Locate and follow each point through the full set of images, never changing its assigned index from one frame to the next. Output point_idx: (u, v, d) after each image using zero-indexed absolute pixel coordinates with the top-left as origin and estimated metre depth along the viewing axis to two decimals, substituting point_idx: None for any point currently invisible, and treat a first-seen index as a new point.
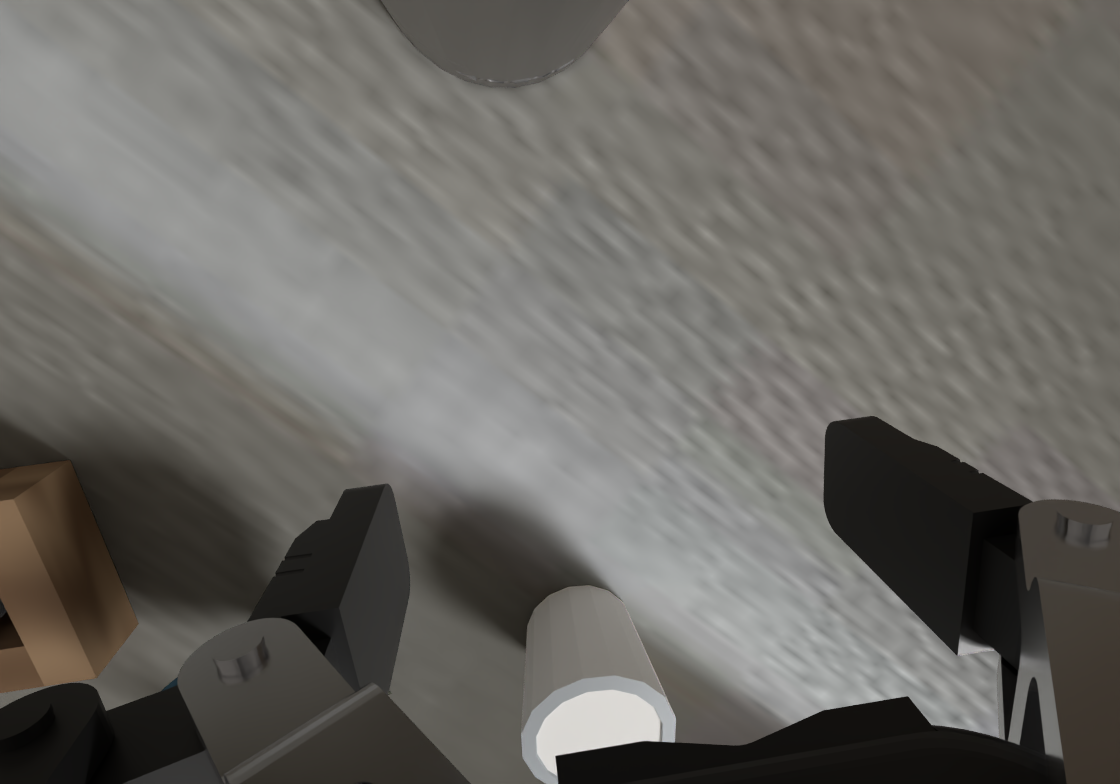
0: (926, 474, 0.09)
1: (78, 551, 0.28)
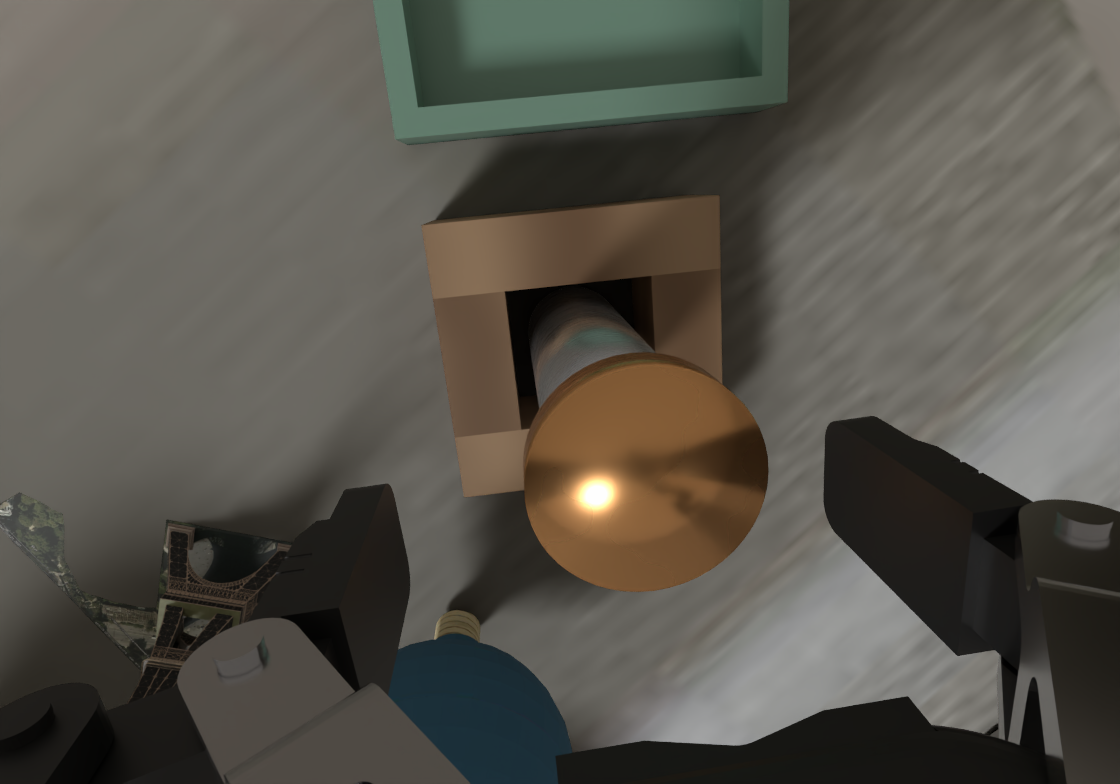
0: (926, 474, 0.09)
1: None
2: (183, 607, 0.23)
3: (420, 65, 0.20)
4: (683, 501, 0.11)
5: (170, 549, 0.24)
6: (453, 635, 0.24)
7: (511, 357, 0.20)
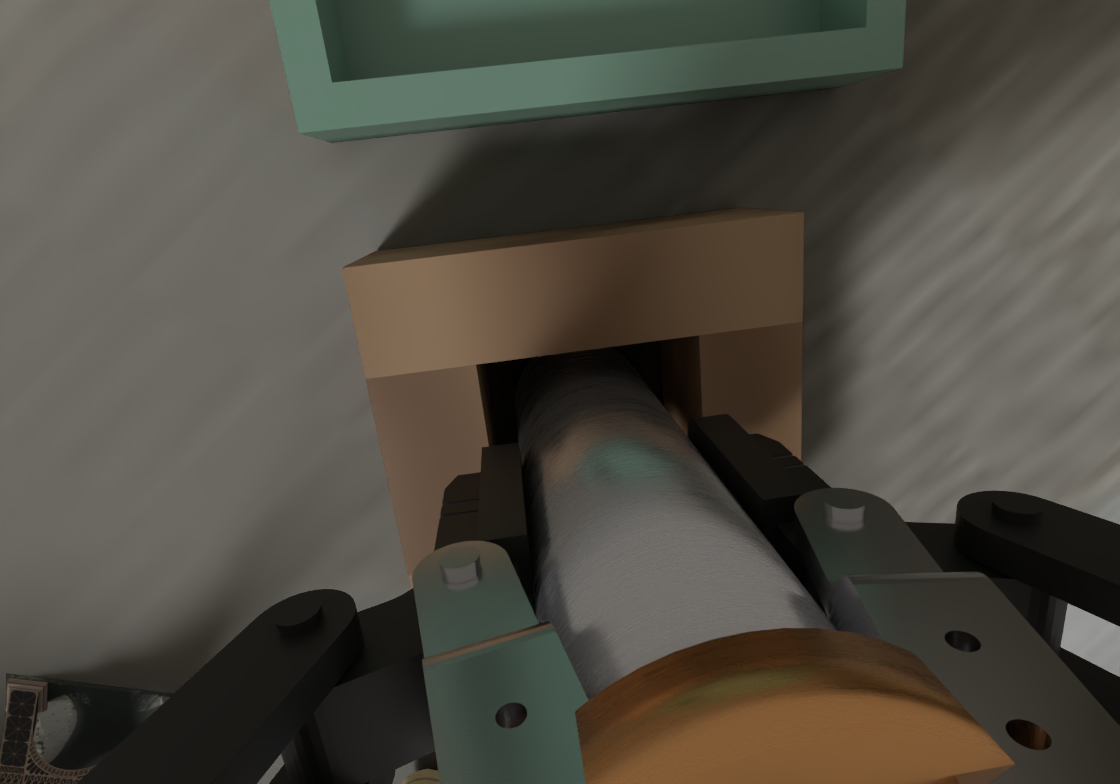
0: (743, 466, 0.10)
1: None
2: None
3: (342, 21, 0.13)
4: None
5: (6, 720, 0.17)
6: None
7: None
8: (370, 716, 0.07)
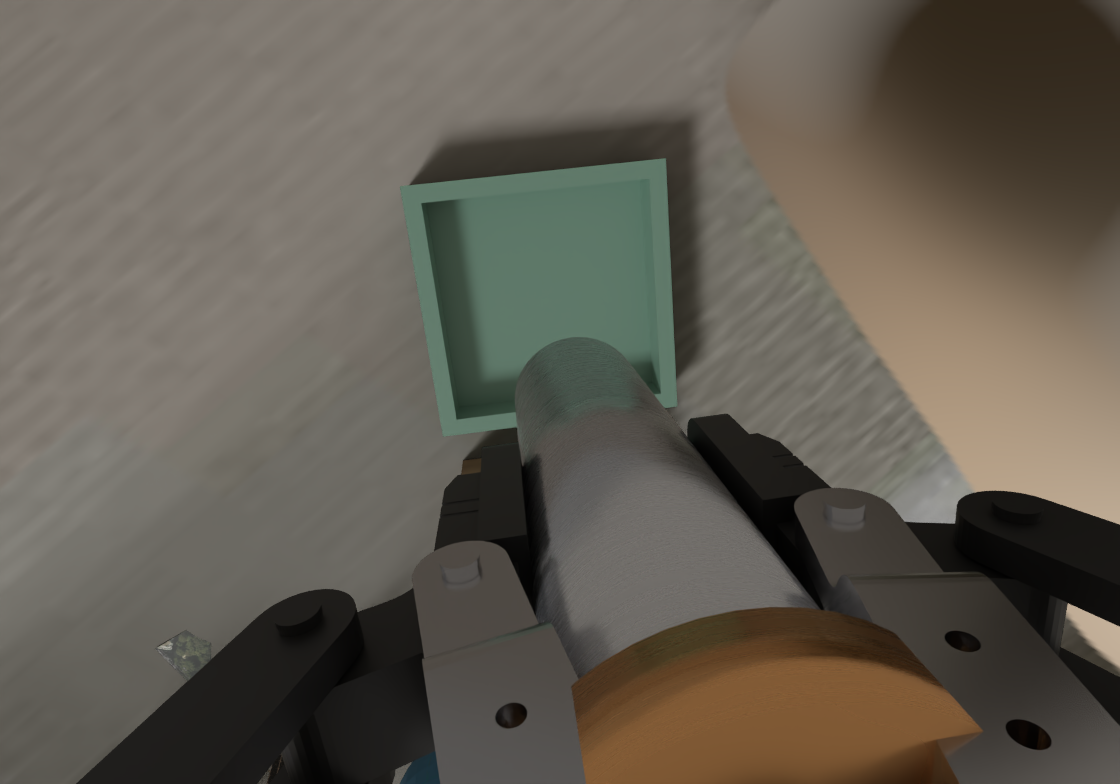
0: (742, 466, 0.10)
1: None
2: None
3: (455, 381, 0.33)
4: None
5: None
6: None
7: None
8: (370, 716, 0.07)
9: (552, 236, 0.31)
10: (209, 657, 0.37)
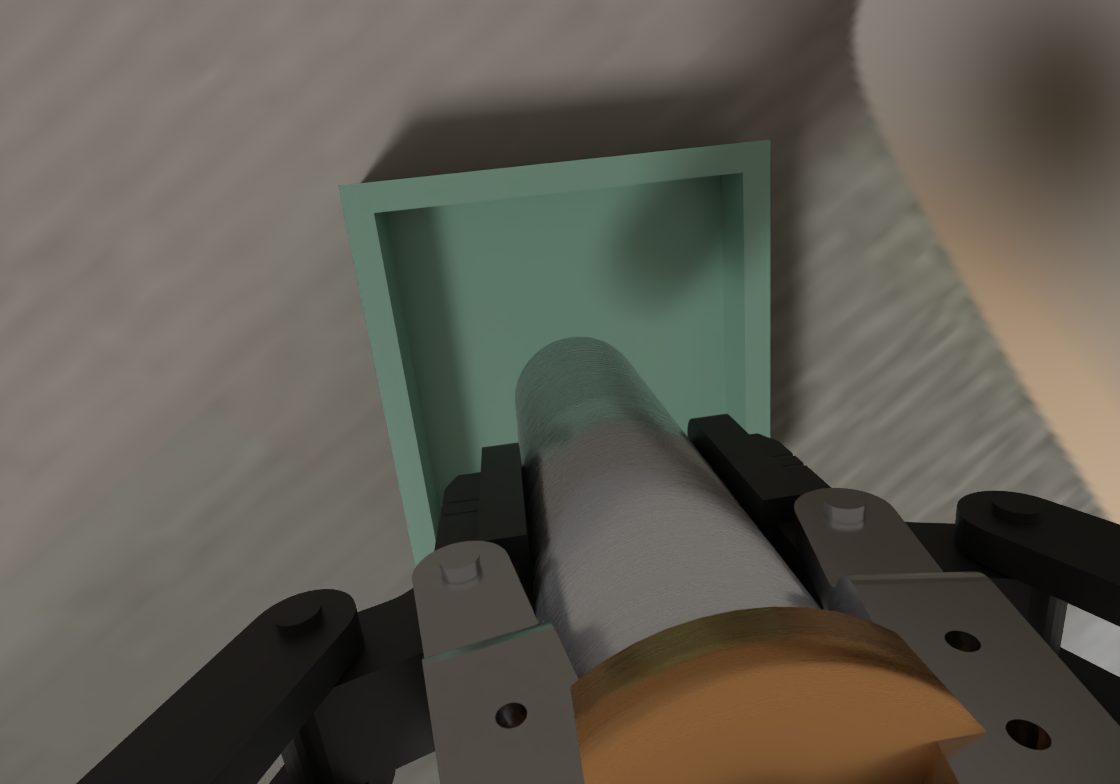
0: (743, 466, 0.10)
1: None
2: None
3: (436, 477, 0.22)
4: None
5: None
6: None
7: None
8: (370, 716, 0.07)
9: (583, 262, 0.20)
10: None
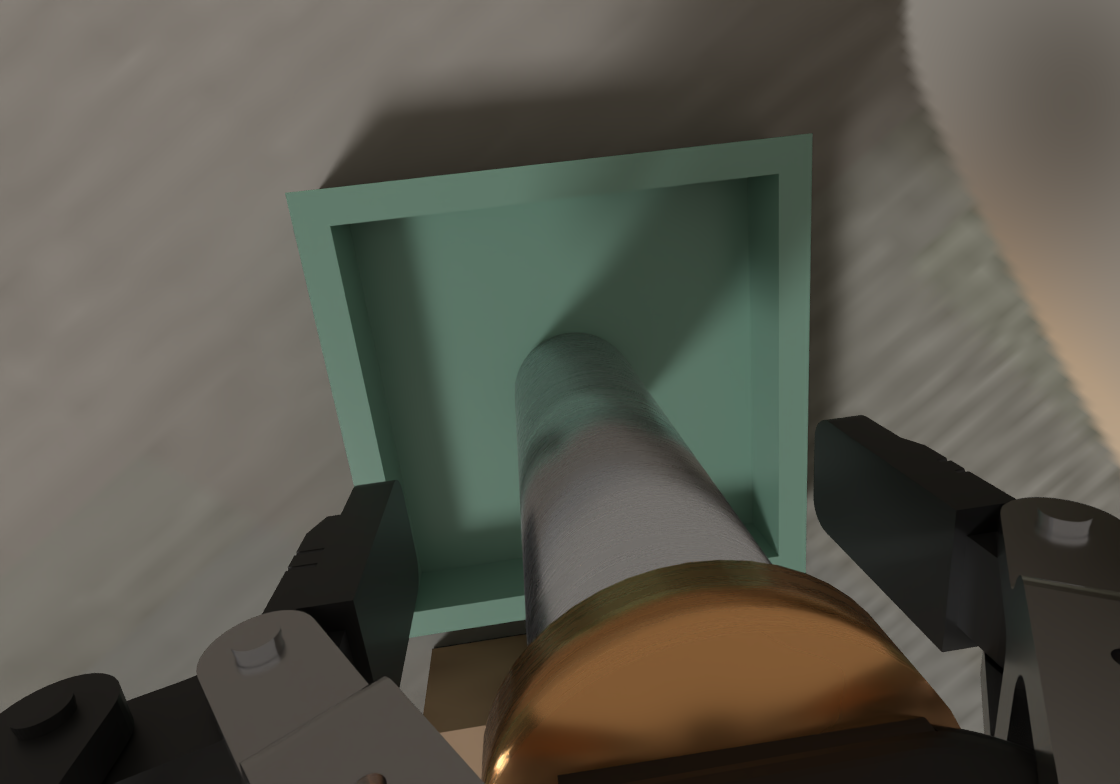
0: (911, 472, 0.09)
1: None
2: None
3: (415, 531, 0.19)
4: None
5: None
6: None
7: None
8: None
9: (585, 281, 0.17)
10: None
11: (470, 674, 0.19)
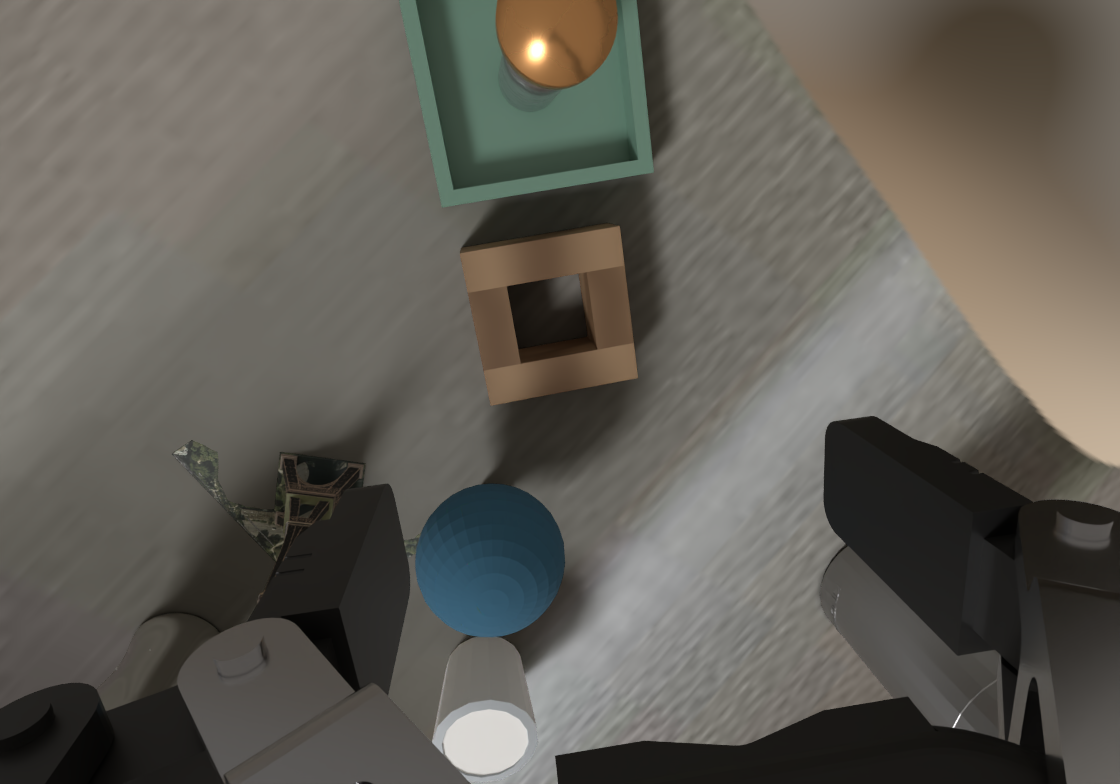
0: (926, 474, 0.09)
1: None
2: (299, 498, 0.38)
3: (450, 163, 0.36)
4: (576, 28, 0.23)
5: (285, 468, 0.40)
6: None
7: (512, 322, 0.36)
8: None
9: None
10: None
11: (483, 246, 0.36)
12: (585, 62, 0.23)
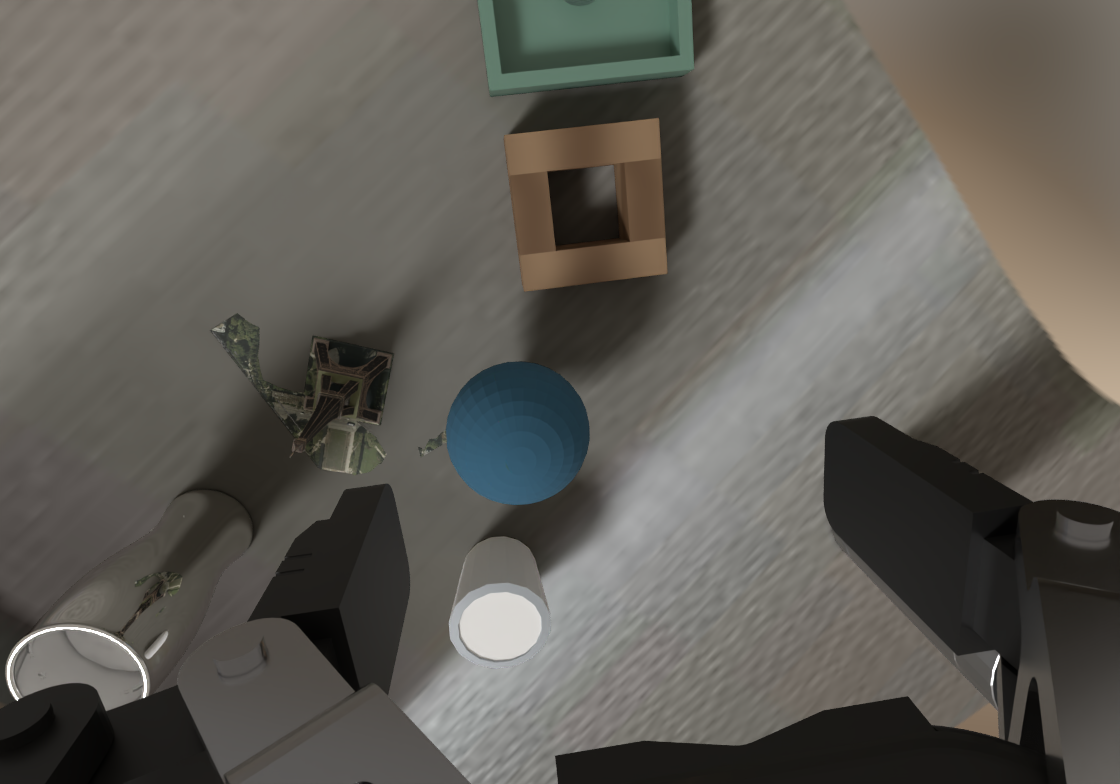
0: (926, 474, 0.09)
1: None
2: (330, 376, 0.40)
3: (499, 52, 0.37)
4: None
5: (317, 350, 0.41)
6: None
7: (550, 208, 0.37)
8: None
9: None
10: (257, 342, 0.42)
11: None
12: None
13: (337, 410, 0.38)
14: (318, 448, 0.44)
